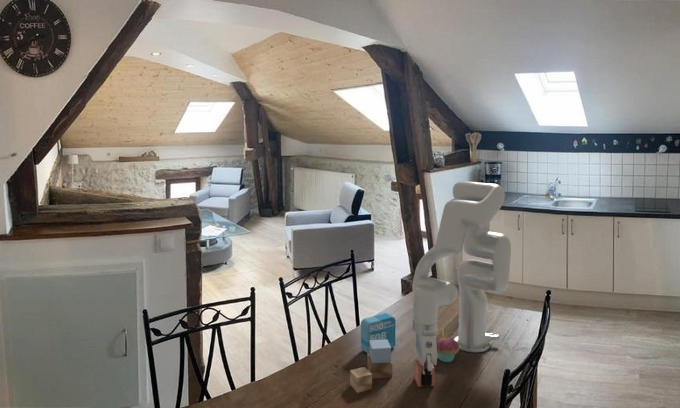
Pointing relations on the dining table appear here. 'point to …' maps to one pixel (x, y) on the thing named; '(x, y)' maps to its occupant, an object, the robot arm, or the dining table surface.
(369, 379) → the block
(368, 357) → the tower base
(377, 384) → the dining table surface
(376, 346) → the tower top
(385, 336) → the data package
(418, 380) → the salmon orange block
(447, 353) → the cupcake
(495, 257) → the robot arm
